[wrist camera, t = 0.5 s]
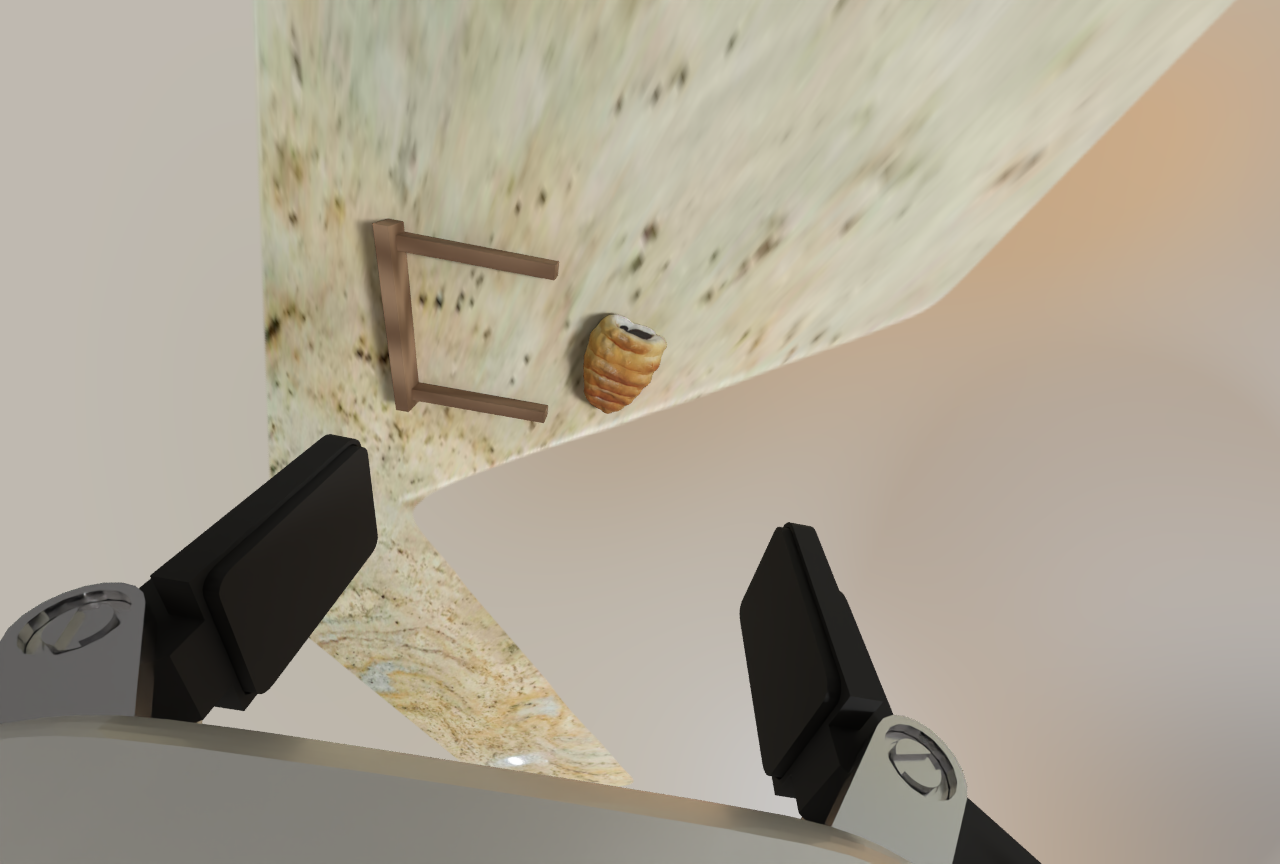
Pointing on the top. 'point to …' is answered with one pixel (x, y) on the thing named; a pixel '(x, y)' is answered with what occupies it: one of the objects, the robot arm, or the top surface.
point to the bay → (400, 322)
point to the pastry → (619, 362)
